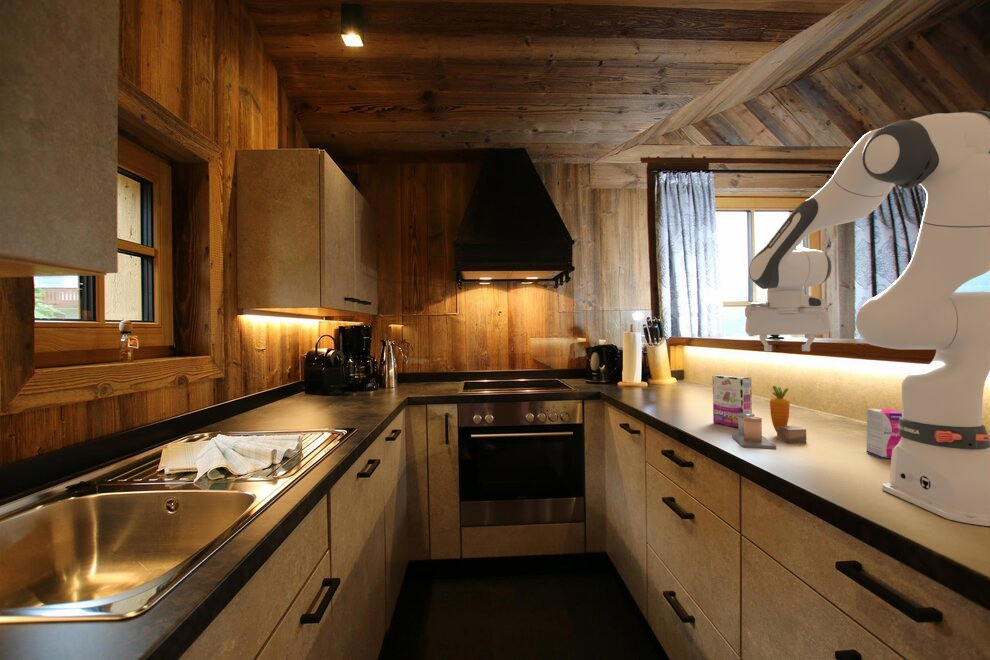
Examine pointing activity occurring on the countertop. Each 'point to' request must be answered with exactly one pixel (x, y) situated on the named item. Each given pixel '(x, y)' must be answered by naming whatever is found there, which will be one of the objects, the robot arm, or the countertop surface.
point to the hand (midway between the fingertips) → (786, 351)
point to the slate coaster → (753, 442)
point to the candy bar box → (730, 399)
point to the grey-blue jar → (742, 422)
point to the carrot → (779, 408)
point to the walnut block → (791, 434)
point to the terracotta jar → (752, 428)
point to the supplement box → (882, 431)
